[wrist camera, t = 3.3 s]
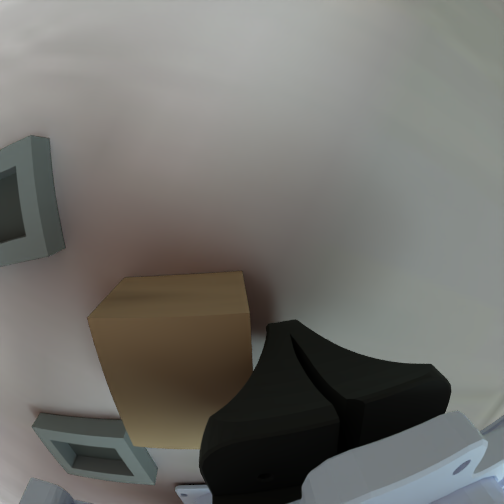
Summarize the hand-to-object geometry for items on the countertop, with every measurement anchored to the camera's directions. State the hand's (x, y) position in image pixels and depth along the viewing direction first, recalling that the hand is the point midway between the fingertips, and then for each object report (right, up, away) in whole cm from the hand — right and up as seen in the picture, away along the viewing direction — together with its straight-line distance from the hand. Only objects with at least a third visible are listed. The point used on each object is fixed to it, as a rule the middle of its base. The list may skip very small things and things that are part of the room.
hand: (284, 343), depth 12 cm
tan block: (-4, 0, +1) cm, 4 cm away
